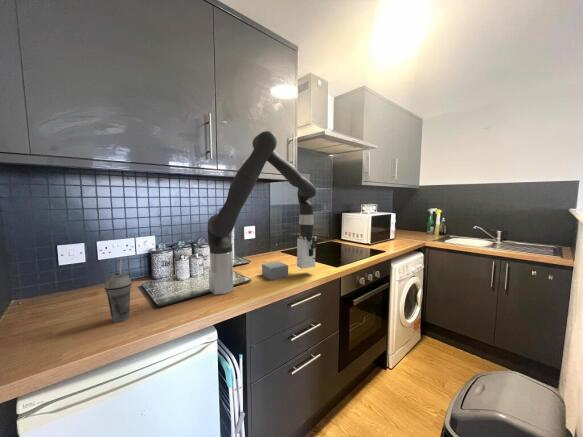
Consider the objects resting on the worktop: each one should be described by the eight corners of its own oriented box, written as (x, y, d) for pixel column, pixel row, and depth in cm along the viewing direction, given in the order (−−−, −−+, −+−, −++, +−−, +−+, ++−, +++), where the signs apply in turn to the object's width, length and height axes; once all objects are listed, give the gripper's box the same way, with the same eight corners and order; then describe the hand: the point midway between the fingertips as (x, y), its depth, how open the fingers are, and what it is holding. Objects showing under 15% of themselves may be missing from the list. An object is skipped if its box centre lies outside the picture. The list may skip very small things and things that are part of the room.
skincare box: (301, 269, 118) (301, 240, 117) (296, 266, 124) (296, 238, 122) (315, 267, 122) (316, 239, 120) (310, 264, 127) (310, 237, 126)
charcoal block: (270, 280, 114) (270, 268, 114) (262, 275, 123) (261, 263, 122) (288, 276, 120) (288, 265, 119) (278, 271, 128) (278, 261, 127)
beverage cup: (105, 319, 78) (101, 260, 76) (131, 311, 83) (127, 256, 82) (108, 327, 73) (103, 264, 71) (136, 318, 78) (132, 260, 76)
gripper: (291, 222, 124) (291, 253, 125) (311, 224, 113) (310, 258, 114) (302, 221, 129) (302, 251, 130) (321, 223, 118) (321, 256, 119)
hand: (306, 254), depth 122 cm, fingers closed on skincare box, 6 cm apart
